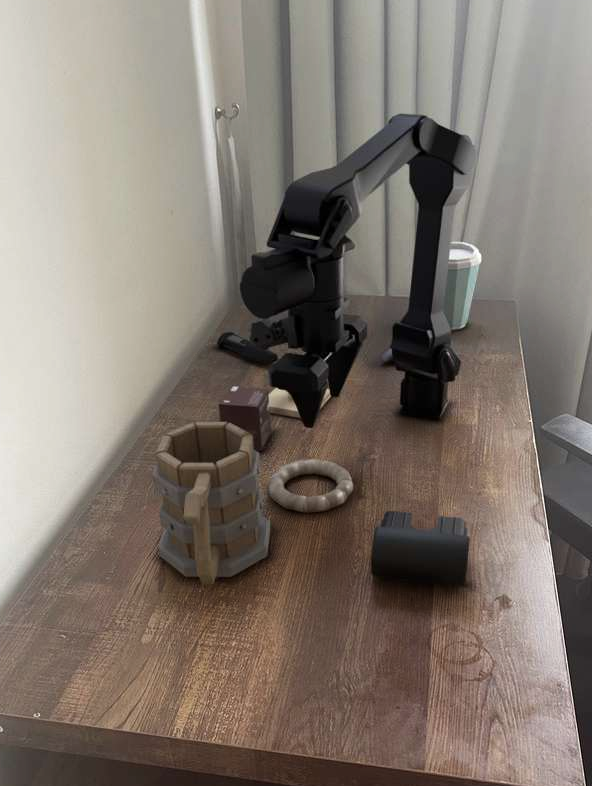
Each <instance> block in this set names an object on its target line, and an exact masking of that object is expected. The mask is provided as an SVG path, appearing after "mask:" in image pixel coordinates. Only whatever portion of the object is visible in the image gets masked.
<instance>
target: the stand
mask: <svg viewBox="0 0 592 786" xmlns="http://www.w3.org/2000/svg"><path fill="white" fill-rule="evenodd" d="M268 396H269V408H270V414H273V415H274V414H275V415H279V416H286V417H292V418H297V419H301V417H300V415H299V412H298V410H297V408H296V405H295V403H294V401H293V399H292V397H291V395H290V394H289V393H288V392H287V391H285V390H280V389H278V388H276V387H274V389H272V391H270V392H269V393H268ZM331 397H332V396H331V395H330V390H329V388H327V390H326V393H325V395H324V398H323V401H322V404H321V407H320V410H321V409H322V408H323V406H325V404H326V403H327V402H328V401H329V399H331Z"/></svg>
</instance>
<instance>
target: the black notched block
mask: <svg viewBox="0 0 592 786" xmlns="http://www.w3.org/2000/svg"><path fill="white" fill-rule="evenodd" d="M412 518H413V512H408V511H396V510H387V511H385V513H384V516H383V519H382V520H381V523H380V526H379V525H377V526H375V529H374V533H373V538H372V547H371V558H370V559H371V560H370V571H371V572H370V573H371V576H372V577H375V578H378V579H385V580H393V581H403V582H411V583H419V584H425V585H426V584H427V585H436V586H445V587H451V588H464V587H465V586H466V581H467V573H468V564H469V563H468V562H469V554H470V553H469V552H470V540H471V539H470V536H469V535H468V528H467V521H466V520H465V519H464V518H463V517H462V518H461V517H457V516H445V515H438V516H437V523H436V525H435V526H434V527H432V528H429V529H423V528H422V529H421V528H418V527H416V526H414V525H413V524H412Z"/></svg>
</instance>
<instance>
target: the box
mask: <svg viewBox="0 0 592 786" xmlns="http://www.w3.org/2000/svg"><path fill="white" fill-rule="evenodd" d="M268 395H269V388H266V387H247V386H229V388H228V389H227V390H226V392H225V393H224V394H223V395H222V398H221V399H220V401H219V402H218V414H219V422H228V424H229V423H231V424H233V425H235V426H237V427H239V428H241V429H243V430H244V431H246V432H248V433H250V434H251V435H252V436H253V448H254V450H255V451H262V450H263V449H264V448H265V445H266V443H267V442H268V439H269V438H270V435H271V433H272V423H271V413H270V408H269V396H268Z"/></svg>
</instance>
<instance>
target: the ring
mask: <svg viewBox="0 0 592 786" xmlns="http://www.w3.org/2000/svg"><path fill="white" fill-rule="evenodd" d="M304 475H319V476H325V477H328V478H330V479H332V480H333V481H335V482H336V486H335V488H334V489H333V490H331V491H329V492H326V493H325V494H322V495H312V496H305V495H299V494H296V493H295V494H294V493H291V492H290V491H289V490H287V489H286V488H285V484H286V483H287V482H288V481H289V480H291V479H293V478H297V477H298V476H304ZM267 485H268V491H269V497H270V498H271V500H273V501H275V502H276V503H277V504H279V505H280V506H281V507H282V508H284V509H286V510H290V511H295V512H300V513H305V514H308V513H318V512H327V511H329V510H332V509H333V508H336V507H338V506H340V505H342V504H344V503H346V501H347V499H348V498H349V497H350V496H351V493H352V492H353V490H354V483H353V479H352V476H351V474H350V472H349V470H347V469H346V468H344V467H342V466H340V465H339V464H337V463H335V462H333V461H327V460H323V459H317V458H311V459H300V460H294V461H292V462H290V463H289V462H288V463H286V464H284V465H282V466H279V467H278V468H276V470H275V471H274V473H272V475H271V476H270V478H269V479H268V482H267Z"/></svg>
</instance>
